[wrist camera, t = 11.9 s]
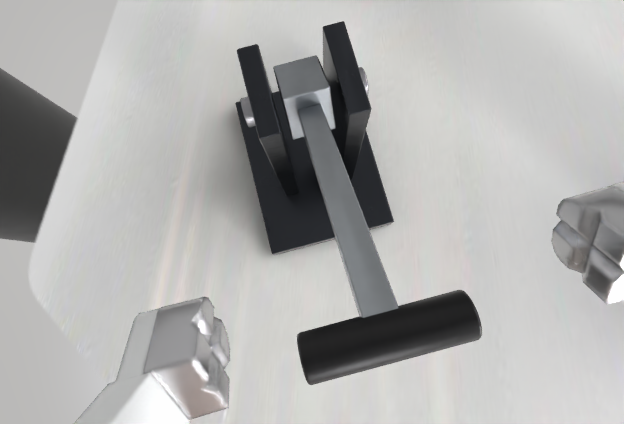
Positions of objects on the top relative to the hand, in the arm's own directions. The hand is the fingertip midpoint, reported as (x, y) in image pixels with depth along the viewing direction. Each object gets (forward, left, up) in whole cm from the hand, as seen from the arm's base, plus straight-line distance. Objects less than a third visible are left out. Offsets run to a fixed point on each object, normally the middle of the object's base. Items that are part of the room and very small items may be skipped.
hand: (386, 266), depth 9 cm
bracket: (0, +9, -19) cm, 21 cm away
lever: (0, +3, -7) cm, 7 cm away
